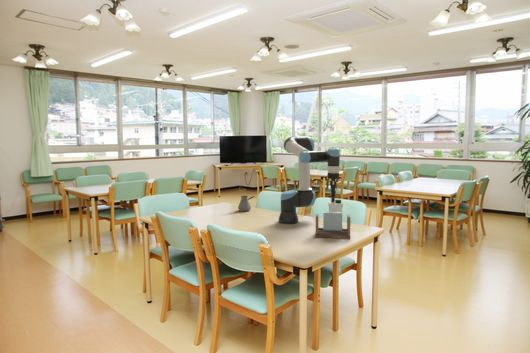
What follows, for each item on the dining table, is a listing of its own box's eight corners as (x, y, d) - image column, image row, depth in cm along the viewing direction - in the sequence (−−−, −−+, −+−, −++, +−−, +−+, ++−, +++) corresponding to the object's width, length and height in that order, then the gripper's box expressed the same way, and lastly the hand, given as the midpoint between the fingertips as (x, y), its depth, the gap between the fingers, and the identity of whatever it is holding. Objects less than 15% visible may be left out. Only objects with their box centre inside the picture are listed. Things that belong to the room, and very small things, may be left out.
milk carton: (344, 228, 256) (344, 200, 254) (333, 230, 253) (333, 201, 251) (337, 225, 264) (337, 198, 262) (326, 227, 261) (326, 199, 259)
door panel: (323, 232, 242) (323, 211, 240) (341, 233, 240) (342, 212, 238) (323, 233, 239) (323, 212, 237) (342, 234, 237) (342, 213, 235)
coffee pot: (235, 210, 321) (235, 193, 319) (246, 208, 328) (246, 192, 326) (249, 214, 304) (248, 196, 302) (260, 212, 311) (260, 195, 309)
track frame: (316, 232, 247) (316, 213, 246) (349, 233, 243) (349, 213, 242) (315, 237, 236) (315, 217, 234) (350, 238, 232) (350, 218, 230)
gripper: (327, 170, 247) (327, 200, 250) (327, 174, 223) (326, 208, 226) (338, 170, 246) (338, 201, 249) (339, 175, 222) (339, 209, 224)
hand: (332, 204), depth 237 cm, fingers open, 13 cm apart
